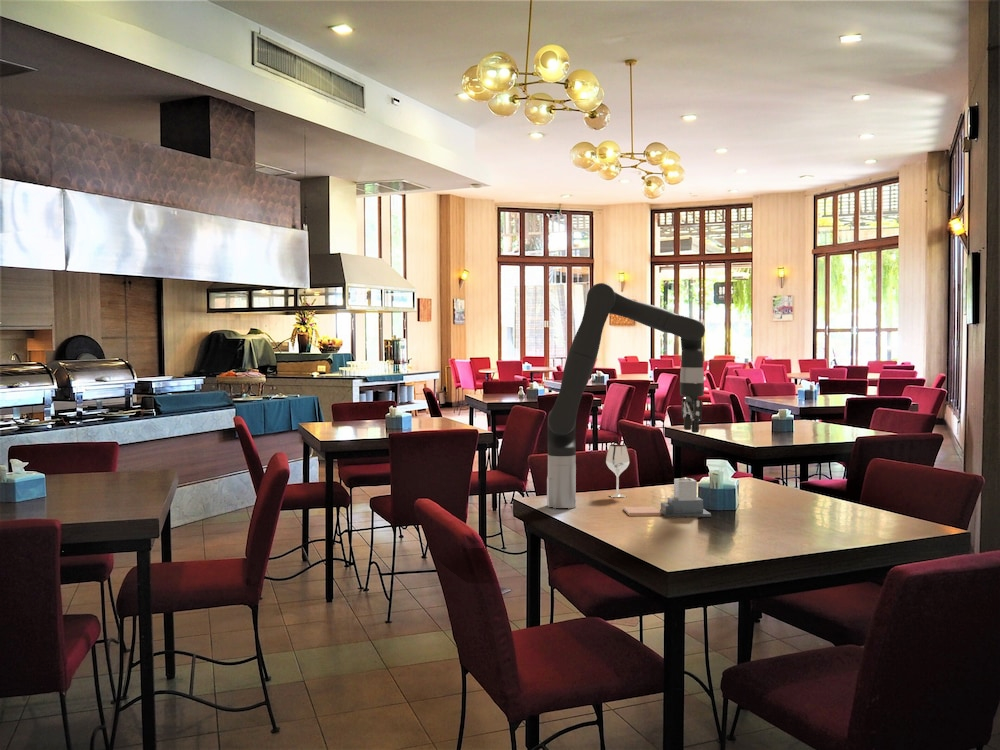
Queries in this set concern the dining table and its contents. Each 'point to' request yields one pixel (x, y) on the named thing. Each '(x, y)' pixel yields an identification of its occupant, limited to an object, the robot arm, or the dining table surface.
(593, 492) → the dining table surface
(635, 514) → the terracotta tile
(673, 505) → the grey peg stand
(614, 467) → the wineglass
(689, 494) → the white cube
